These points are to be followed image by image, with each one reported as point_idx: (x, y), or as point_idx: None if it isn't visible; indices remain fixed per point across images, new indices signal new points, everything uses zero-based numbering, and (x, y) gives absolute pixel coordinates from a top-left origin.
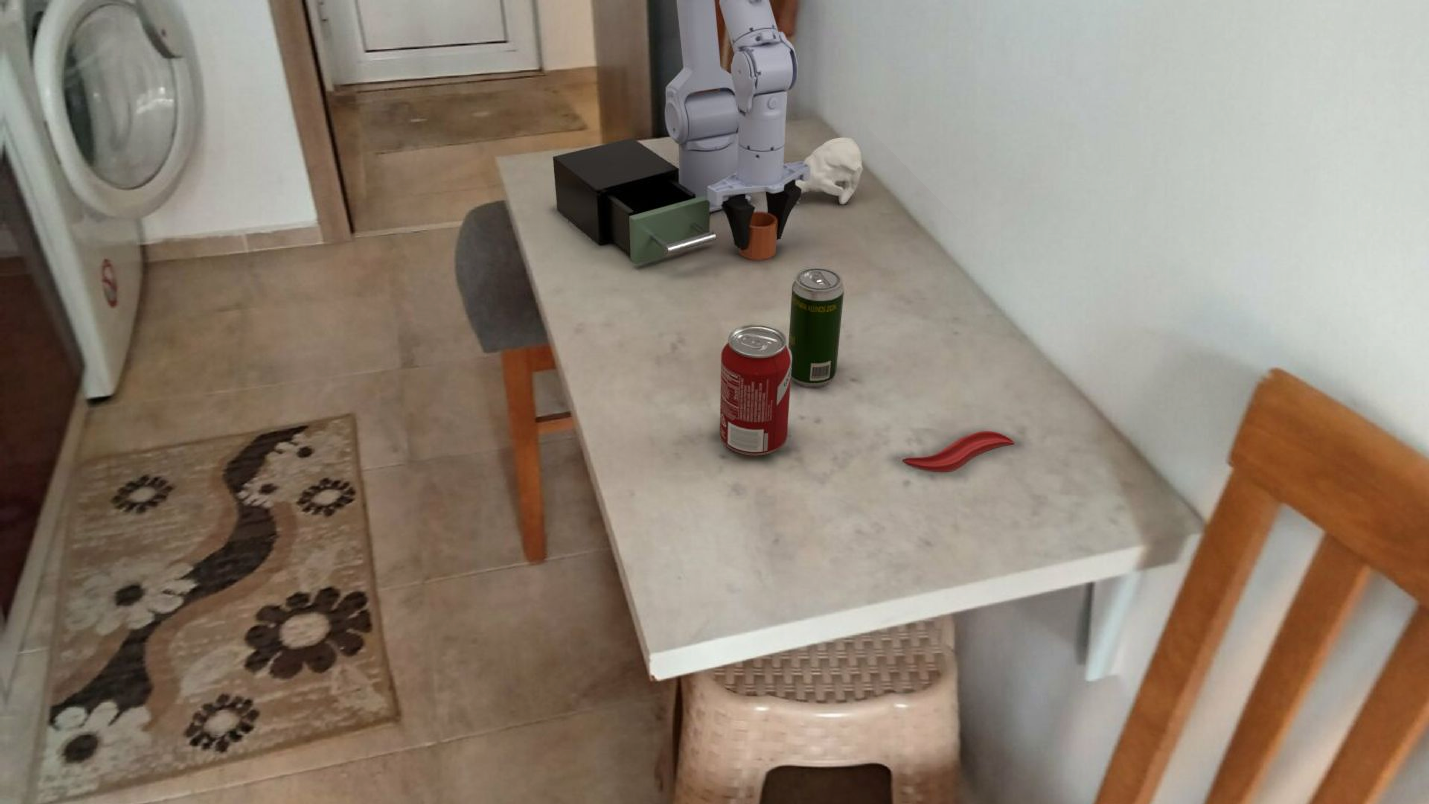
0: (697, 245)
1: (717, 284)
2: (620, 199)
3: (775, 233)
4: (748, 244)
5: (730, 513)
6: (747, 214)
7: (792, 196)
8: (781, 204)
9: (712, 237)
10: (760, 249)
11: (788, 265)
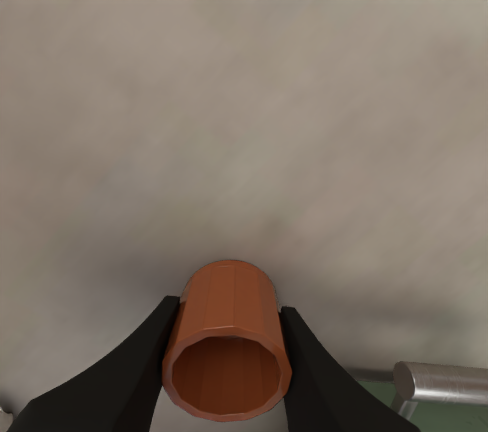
0: (471, 369)
1: (427, 243)
2: None
3: (201, 304)
4: (280, 315)
5: None
6: (362, 410)
7: (90, 419)
8: (138, 399)
9: (426, 375)
10: (259, 284)
11: (215, 202)
